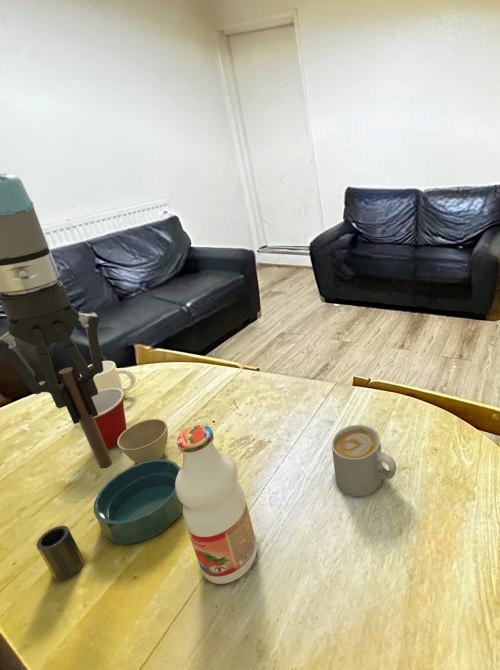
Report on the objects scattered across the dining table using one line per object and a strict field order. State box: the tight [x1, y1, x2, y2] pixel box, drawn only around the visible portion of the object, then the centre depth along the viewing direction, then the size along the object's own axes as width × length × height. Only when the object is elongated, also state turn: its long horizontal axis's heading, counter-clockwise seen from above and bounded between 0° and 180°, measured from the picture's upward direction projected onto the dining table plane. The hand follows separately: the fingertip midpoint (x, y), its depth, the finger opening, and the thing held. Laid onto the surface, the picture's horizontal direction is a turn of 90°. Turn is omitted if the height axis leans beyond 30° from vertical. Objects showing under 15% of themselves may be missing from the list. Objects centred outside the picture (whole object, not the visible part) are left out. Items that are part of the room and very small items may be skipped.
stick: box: [58, 366, 113, 470], centre depth 70 cm, size 2×2×20 cm
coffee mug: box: [331, 424, 397, 497], centre depth 85 cm, size 13×10×10 cm
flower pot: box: [117, 418, 169, 464], centre depth 95 cm, size 10×10×7 cm
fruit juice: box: [175, 424, 258, 585], centre depth 67 cm, size 9×9×28 cm
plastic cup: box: [92, 388, 127, 449], centre depth 99 cm, size 11×11×12 cm
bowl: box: [93, 458, 183, 545], centre depth 81 cm, size 15×15×6 cm
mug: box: [79, 360, 136, 398], centre depth 116 cm, size 12×8×10 cm
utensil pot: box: [35, 525, 85, 582], centre depth 71 cm, size 4×4×8 cm
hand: (85, 415), depth 69 cm, fingers closed on stick, 2 cm apart
